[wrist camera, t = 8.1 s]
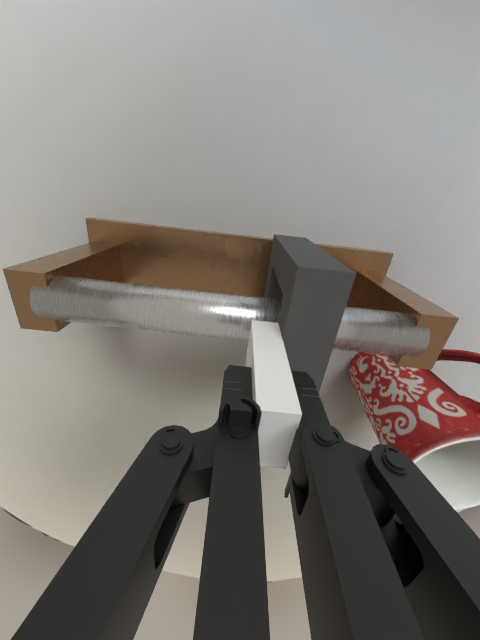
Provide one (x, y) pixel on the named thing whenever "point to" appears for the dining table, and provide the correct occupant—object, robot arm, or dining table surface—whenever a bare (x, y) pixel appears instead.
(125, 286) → the pipe rig
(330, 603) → the robot arm
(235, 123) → the dining table surface
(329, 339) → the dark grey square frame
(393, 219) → the dining table surface
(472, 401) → the mug
